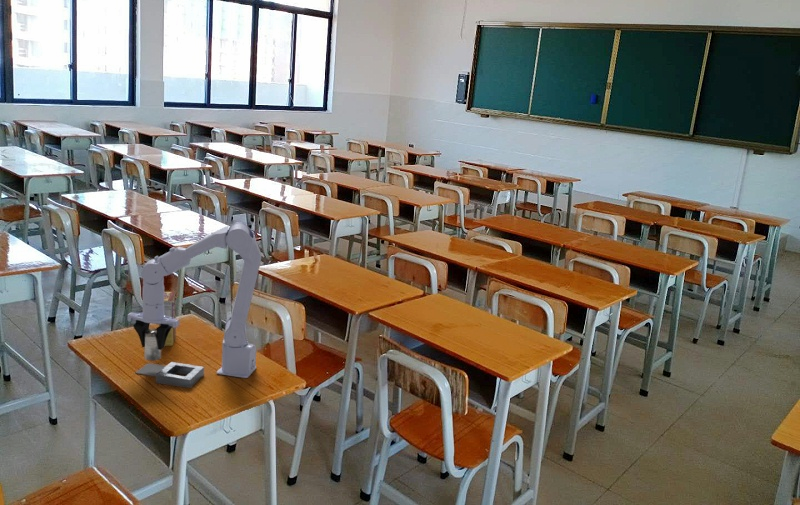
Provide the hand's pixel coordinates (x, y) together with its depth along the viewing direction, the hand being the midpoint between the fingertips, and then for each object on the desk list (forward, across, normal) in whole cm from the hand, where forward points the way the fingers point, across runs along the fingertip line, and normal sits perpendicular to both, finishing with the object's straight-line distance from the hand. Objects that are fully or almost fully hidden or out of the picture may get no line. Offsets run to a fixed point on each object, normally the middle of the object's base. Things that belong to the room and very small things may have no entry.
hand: (153, 347), depth 187 cm
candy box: (+7, +6, -22) cm, 24 cm away
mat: (+7, 0, 0) cm, 7 cm away
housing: (+7, -10, +2) cm, 12 cm away
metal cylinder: (+3, 0, 0) cm, 3 cm away
